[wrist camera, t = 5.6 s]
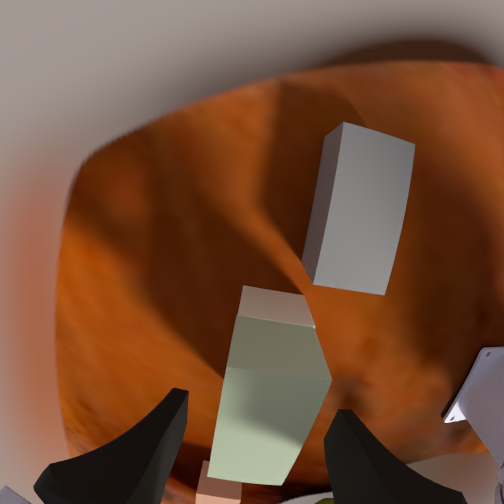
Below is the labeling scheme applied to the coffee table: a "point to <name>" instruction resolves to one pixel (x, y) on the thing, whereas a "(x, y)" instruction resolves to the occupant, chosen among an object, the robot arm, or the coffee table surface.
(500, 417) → the robot arm
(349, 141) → the brick charcoal
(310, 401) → the brick sage
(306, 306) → the brick cream
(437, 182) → the coffee table surface
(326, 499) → the dumbbell
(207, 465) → the brick terracotta
